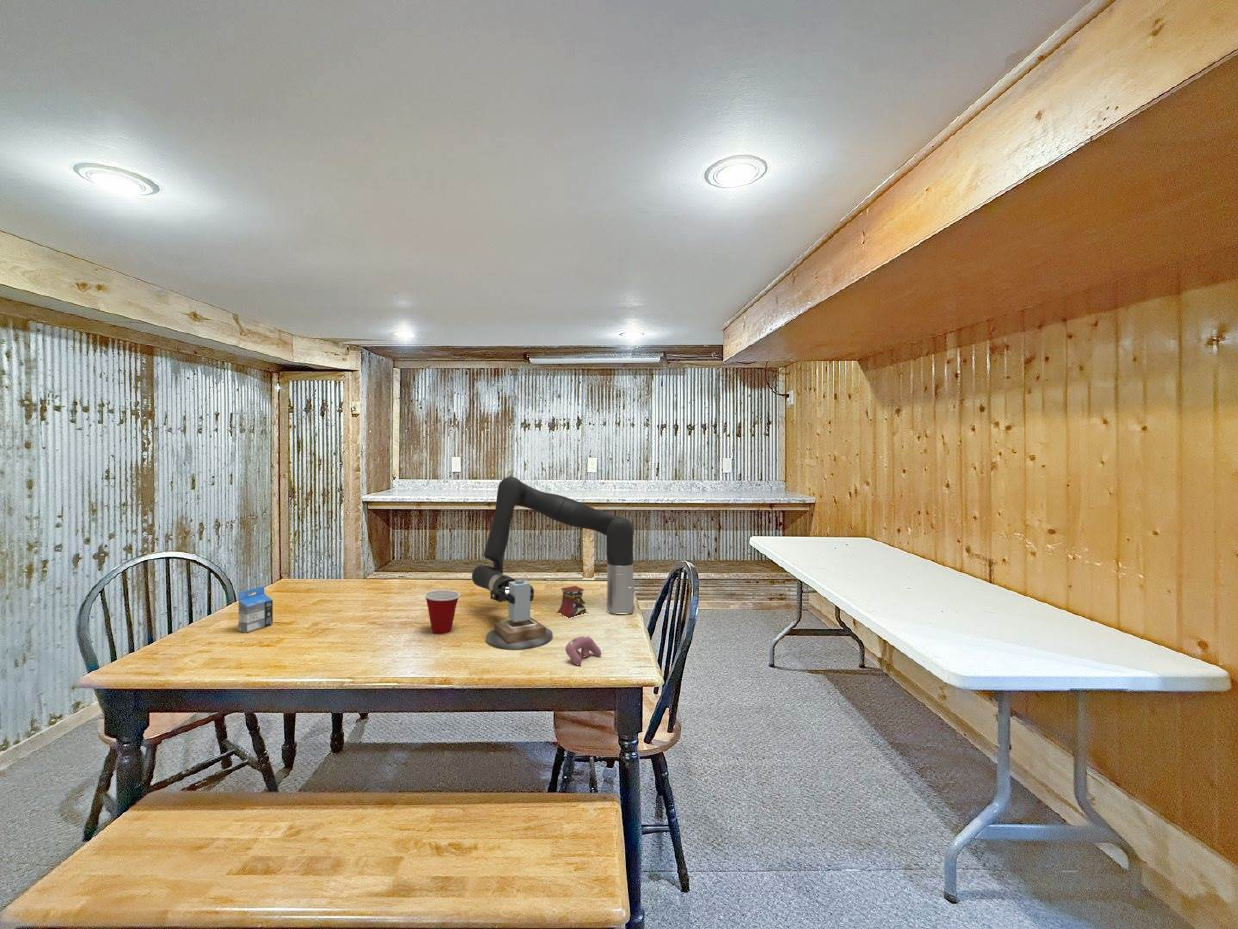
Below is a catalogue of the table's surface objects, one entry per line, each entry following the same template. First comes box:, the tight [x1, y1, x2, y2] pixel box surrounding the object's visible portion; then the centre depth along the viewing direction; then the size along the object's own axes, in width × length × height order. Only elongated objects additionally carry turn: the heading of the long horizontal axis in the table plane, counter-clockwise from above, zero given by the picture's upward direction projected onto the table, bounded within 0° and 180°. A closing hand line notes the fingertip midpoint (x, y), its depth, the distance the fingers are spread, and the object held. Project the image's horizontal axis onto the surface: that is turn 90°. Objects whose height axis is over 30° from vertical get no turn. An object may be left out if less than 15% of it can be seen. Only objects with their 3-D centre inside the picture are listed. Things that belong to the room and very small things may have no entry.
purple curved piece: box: [564, 635, 602, 666], centre depth 153 cm, size 10×5×7 cm, turn 142°
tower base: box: [485, 616, 554, 651], centre depth 169 cm, size 20×20×5 cm
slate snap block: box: [508, 578, 531, 622], centre depth 169 cm, size 5×5×12 cm
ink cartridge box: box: [238, 586, 274, 633], centre depth 176 cm, size 9×4×12 cm, turn 161°
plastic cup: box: [424, 589, 461, 635], centre depth 175 cm, size 11×11×12 cm
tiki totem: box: [556, 585, 588, 618], centre depth 194 cm, size 9×9×9 cm
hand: (522, 599), depth 167 cm, fingers closed on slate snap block, 5 cm apart
